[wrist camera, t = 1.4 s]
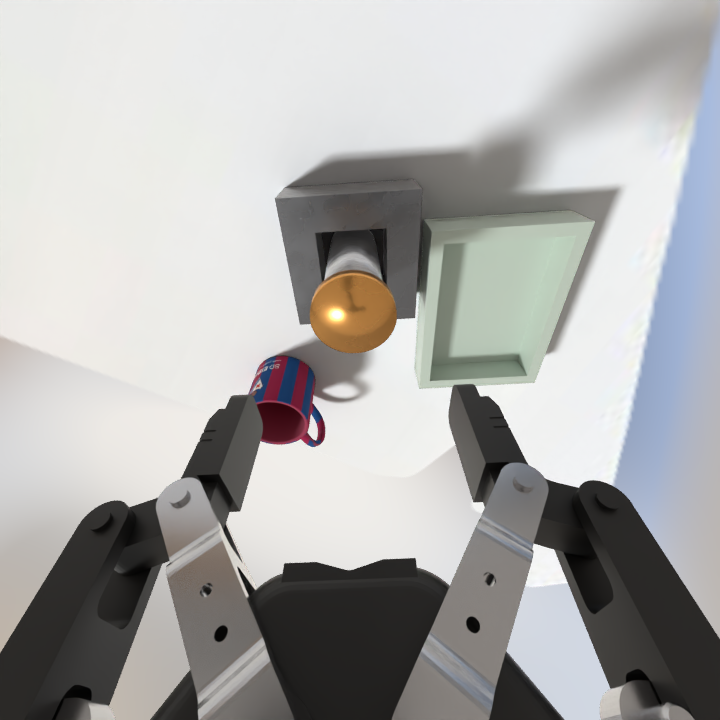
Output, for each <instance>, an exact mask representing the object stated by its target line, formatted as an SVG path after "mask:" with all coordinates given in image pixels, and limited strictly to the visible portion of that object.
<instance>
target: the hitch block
mask: <svg viewBox="0 0 720 720" xmlns="http://www.w3.org/2000/svg"><path fill="white" fill-rule="evenodd" d="M275 201H276V206H277V211H278V216H279V221H280V226H281V231H282V236H283V241H284V246H285V251H286V256H287V261H288V266H289V271H290V276H291V281H292V286H293V291H294V296H295V301H296V306H297V311H298V316H299V321H300V324H311V322H310V308H311V303H312V299H313V296H314V293H315V291H316V289H317V288H318V286H319V285H320V284H321V283H322V282H323V281H324V279H325V273H326V264H325V256H324V248H323V240H322V232H336V231H352V230H368V229H383V271H384V275H382V280H383V281H384V282H385V283H386V284H387V286H388V287H389V288H390V290H391V292H392V294H393V297H394V301H395V306H396V310H397V319H405V318H415V309H416V292H417V274H418V257H419V240H420V223H421V205H422V188H421V187H420V186H419V185H418V183H417V182H416V181H415V180H414V179H406V180H391V181H376V182H361V183H346V184H331V185H315V186H300V187H285V188H284V189H283V190H282V191H281V192H280V194H279V195H278V196H277V197H276V198H275Z"/></svg>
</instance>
